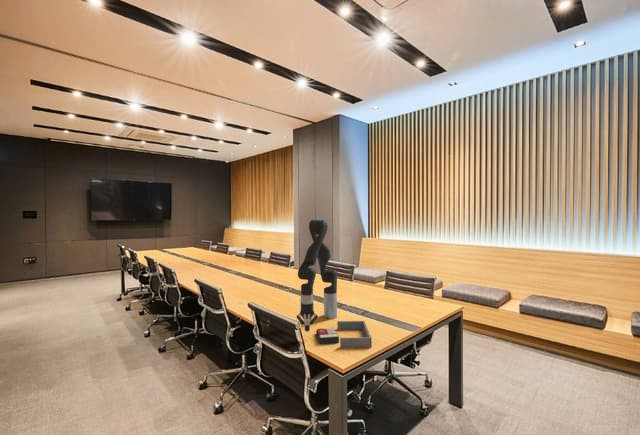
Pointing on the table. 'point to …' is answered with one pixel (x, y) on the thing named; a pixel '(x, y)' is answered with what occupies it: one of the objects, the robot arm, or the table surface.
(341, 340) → the box
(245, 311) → the table surface
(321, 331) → the calculator
